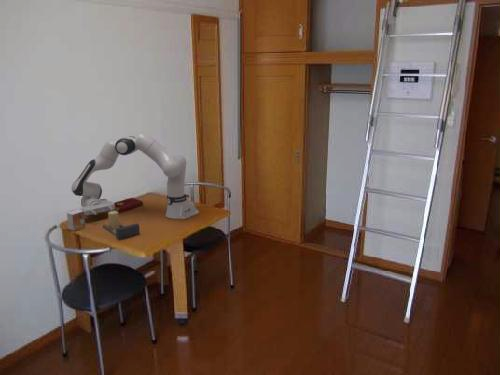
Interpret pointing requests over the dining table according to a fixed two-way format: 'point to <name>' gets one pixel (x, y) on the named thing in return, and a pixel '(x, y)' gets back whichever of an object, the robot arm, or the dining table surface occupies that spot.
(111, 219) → the tall tan pillar block
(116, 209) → the hardcover book
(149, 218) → the dining table surface
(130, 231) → the pallet fork attachment
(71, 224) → the small box
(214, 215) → the dining table surface
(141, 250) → the dining table surface
